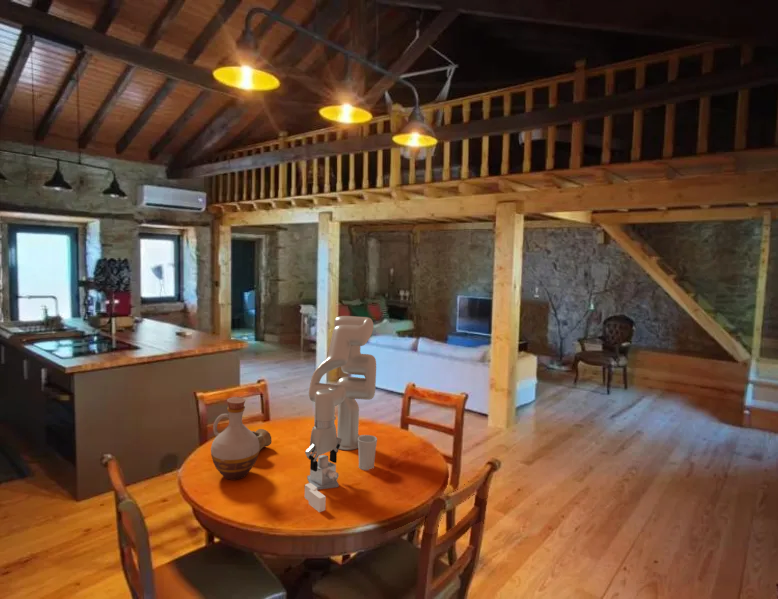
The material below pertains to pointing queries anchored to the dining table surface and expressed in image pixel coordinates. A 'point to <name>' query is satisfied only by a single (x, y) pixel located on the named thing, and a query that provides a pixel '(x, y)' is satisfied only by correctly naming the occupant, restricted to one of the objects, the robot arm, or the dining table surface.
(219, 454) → the jug
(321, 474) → the collar
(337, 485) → the flange
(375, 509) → the dining table surface
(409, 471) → the dining table surface
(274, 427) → the dining table surface
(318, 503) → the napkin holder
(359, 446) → the cup
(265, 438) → the pipe
